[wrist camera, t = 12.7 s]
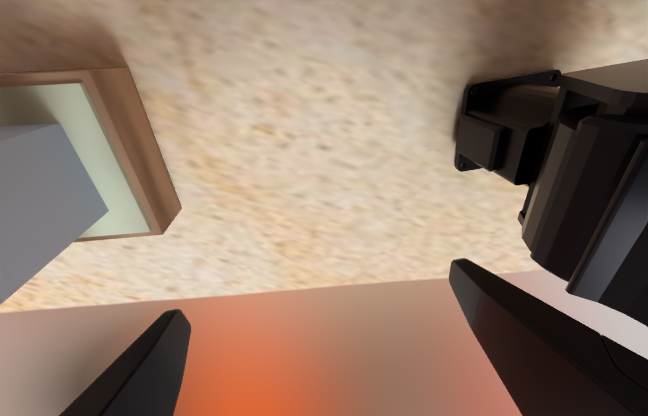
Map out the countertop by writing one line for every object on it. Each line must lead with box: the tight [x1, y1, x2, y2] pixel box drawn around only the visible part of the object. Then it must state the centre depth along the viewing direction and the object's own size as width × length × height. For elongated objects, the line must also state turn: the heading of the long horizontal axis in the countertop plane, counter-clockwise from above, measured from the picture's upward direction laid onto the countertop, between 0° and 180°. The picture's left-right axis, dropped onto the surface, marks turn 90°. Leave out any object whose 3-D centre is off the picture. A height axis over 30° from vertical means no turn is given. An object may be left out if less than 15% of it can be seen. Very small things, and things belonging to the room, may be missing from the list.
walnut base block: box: [0, 67, 182, 242], centre depth 16 cm, size 10×10×4 cm
